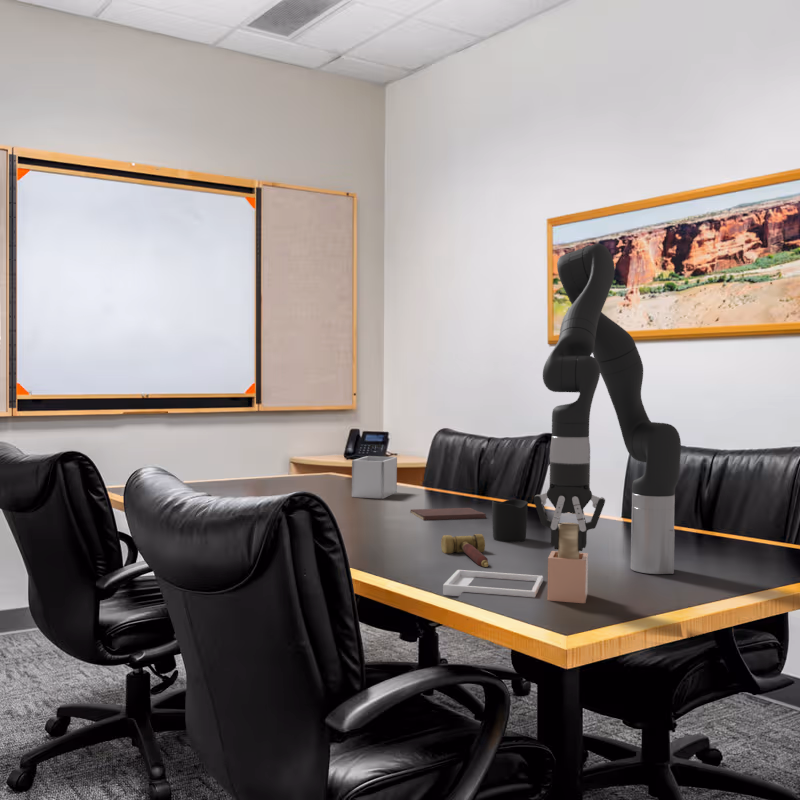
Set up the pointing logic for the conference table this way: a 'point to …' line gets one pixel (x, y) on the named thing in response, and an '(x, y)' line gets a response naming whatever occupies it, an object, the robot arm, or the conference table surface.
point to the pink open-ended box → (567, 578)
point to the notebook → (448, 514)
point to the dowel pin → (568, 540)
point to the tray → (464, 578)
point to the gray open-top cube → (374, 477)
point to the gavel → (466, 547)
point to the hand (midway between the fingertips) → (568, 549)
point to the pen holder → (509, 520)
